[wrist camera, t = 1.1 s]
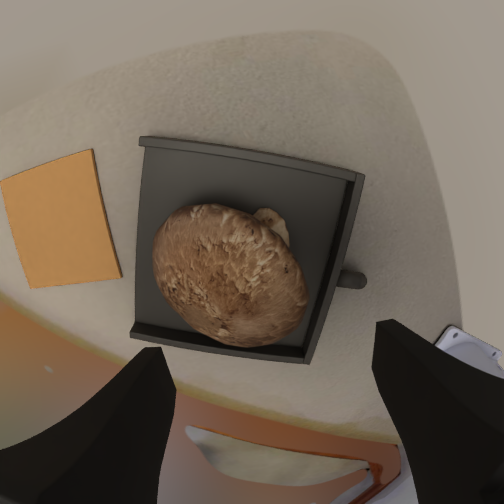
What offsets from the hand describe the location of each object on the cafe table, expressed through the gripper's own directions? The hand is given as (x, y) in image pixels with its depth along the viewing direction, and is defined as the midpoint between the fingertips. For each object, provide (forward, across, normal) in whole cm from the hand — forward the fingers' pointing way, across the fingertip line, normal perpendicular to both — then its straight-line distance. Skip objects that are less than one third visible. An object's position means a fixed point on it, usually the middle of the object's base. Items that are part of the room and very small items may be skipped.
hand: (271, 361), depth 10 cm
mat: (+9, +13, -4) cm, 16 cm away
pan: (+9, 0, 0) cm, 9 cm away
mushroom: (+9, +2, -1) cm, 9 cm away
